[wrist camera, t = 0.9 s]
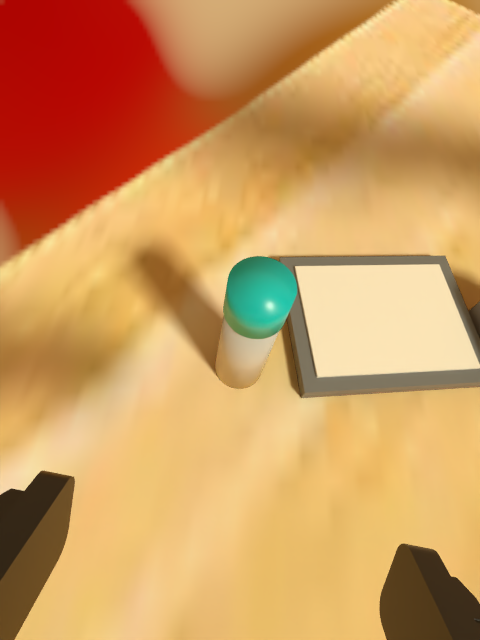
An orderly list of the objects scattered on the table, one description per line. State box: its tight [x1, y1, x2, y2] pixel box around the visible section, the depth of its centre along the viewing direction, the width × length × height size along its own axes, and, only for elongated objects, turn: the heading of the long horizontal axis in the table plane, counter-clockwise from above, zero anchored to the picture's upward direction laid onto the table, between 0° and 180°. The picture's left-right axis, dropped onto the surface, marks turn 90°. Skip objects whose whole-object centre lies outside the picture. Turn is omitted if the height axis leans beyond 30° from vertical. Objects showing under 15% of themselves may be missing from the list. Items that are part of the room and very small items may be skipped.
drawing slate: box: [279, 256, 480, 398], centre depth 32 cm, size 14×11×1 cm
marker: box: [215, 256, 297, 389], centre depth 25 cm, size 3×3×10 cm
